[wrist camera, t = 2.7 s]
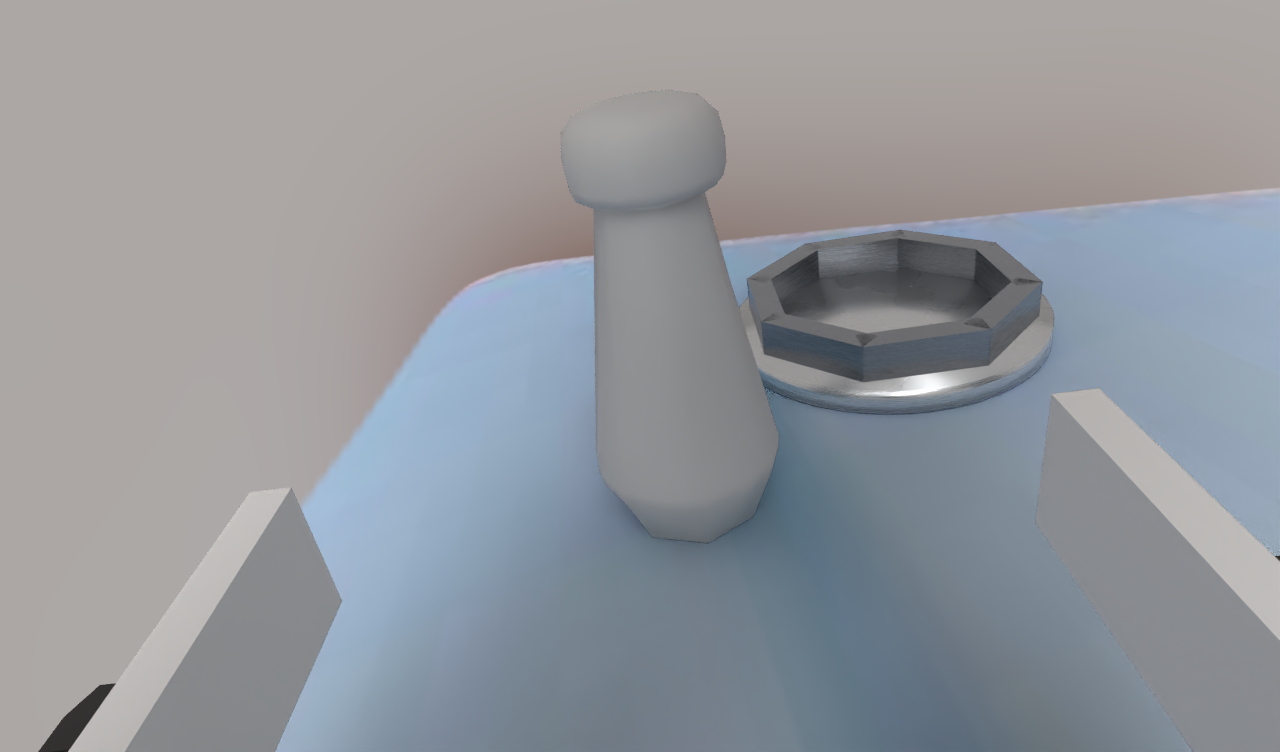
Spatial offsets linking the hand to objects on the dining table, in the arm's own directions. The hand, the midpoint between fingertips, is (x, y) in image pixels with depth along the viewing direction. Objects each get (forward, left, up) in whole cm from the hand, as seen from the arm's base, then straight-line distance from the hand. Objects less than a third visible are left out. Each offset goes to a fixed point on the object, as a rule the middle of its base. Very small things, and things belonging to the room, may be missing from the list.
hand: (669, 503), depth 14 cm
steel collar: (-9, -20, -8) cm, 23 cm away
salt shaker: (0, -10, -8) cm, 13 cm away
